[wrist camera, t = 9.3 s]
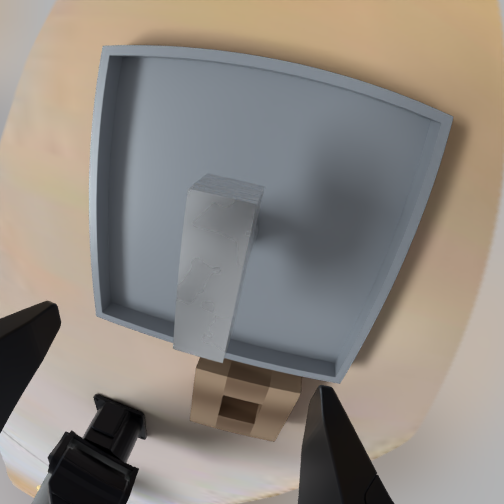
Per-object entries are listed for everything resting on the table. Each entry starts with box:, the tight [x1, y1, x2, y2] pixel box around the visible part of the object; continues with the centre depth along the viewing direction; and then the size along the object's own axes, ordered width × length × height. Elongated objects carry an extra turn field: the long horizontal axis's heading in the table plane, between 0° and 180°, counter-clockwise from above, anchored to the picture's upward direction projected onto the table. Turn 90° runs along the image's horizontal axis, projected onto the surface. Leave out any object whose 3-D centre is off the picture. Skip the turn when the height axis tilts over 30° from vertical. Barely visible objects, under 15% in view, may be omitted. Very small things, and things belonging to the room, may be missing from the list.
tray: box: [89, 45, 453, 384], centre depth 19 cm, size 19×19×2 cm
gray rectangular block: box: [173, 173, 265, 363], centre depth 16 cm, size 8×2×7 cm, turn 169°
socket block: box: [190, 357, 302, 441], centre depth 25 cm, size 8×8×2 cm
